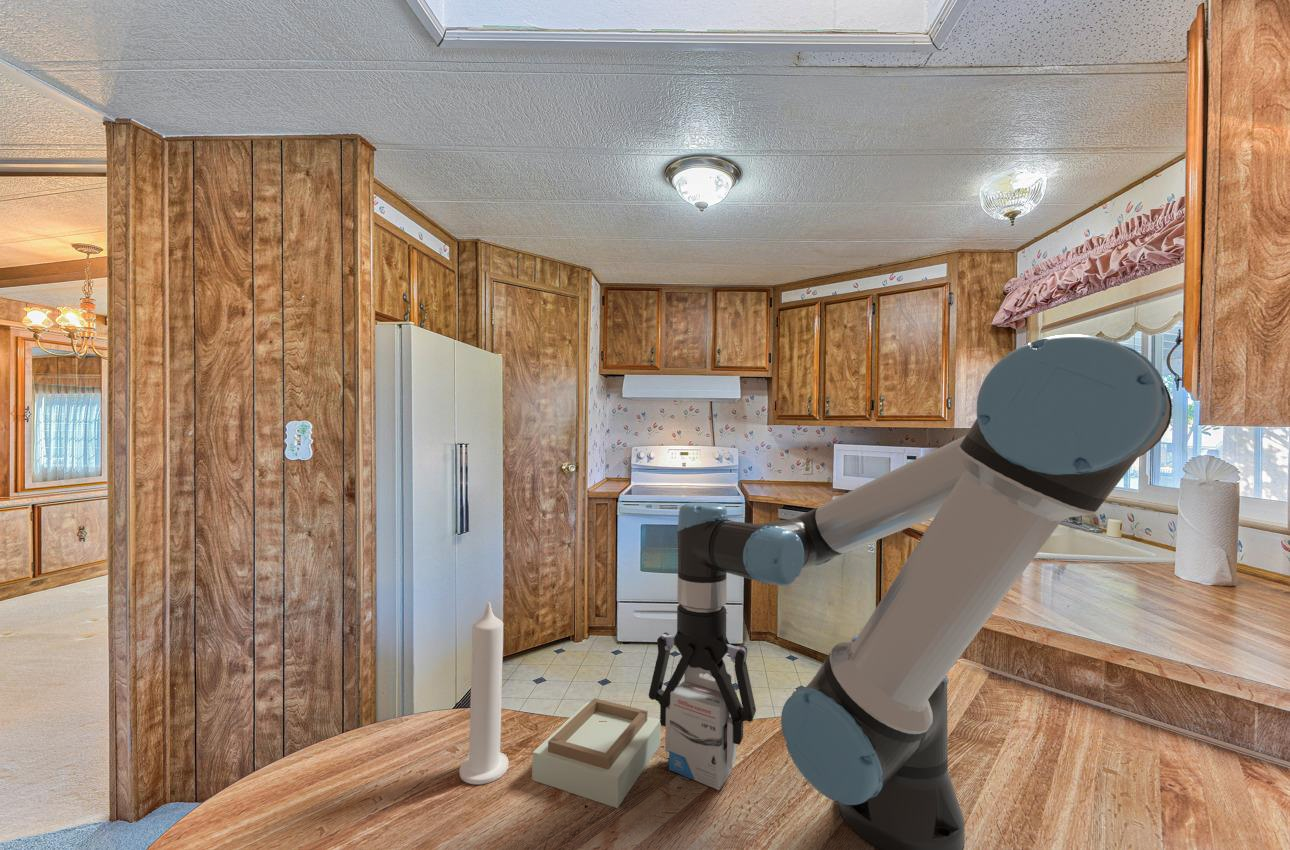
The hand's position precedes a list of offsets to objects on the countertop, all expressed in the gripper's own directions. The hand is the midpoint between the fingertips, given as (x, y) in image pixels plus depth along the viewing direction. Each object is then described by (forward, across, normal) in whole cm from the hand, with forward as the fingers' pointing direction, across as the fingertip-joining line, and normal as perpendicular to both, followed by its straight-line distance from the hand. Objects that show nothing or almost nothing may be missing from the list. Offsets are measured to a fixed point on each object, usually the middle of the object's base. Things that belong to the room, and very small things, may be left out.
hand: (700, 755), depth 76 cm
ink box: (+3, 0, 0) cm, 3 cm away
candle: (+3, +30, +13) cm, 33 cm away
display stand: (+2, +15, +4) cm, 16 cm away
